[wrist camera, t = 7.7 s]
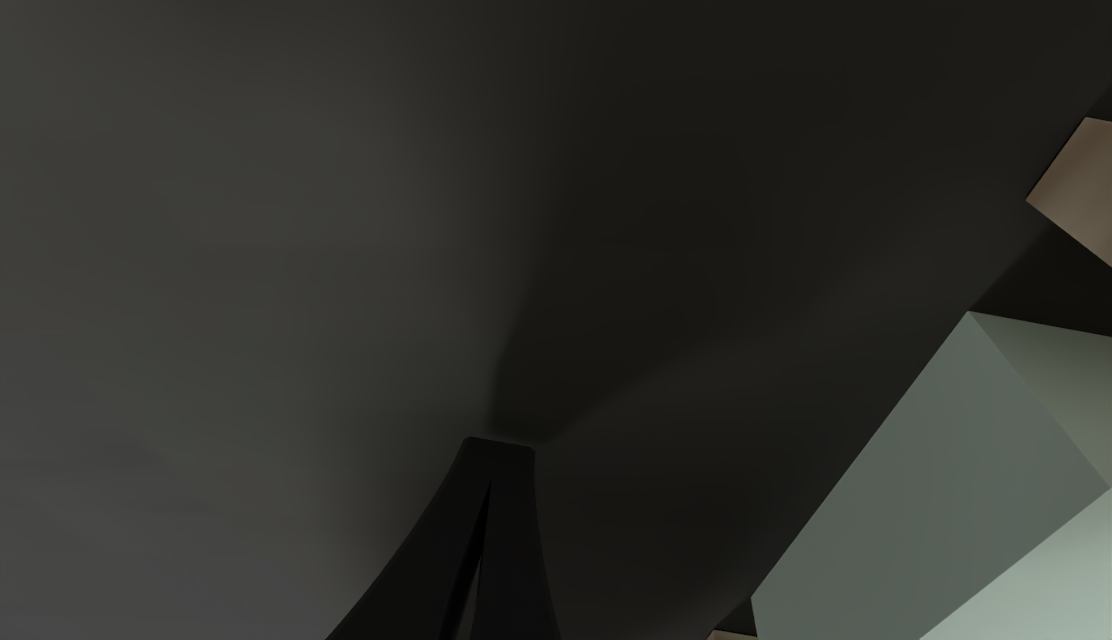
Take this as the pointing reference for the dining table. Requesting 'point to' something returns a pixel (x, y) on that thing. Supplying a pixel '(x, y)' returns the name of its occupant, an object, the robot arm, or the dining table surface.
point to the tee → (968, 503)
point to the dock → (1067, 206)
